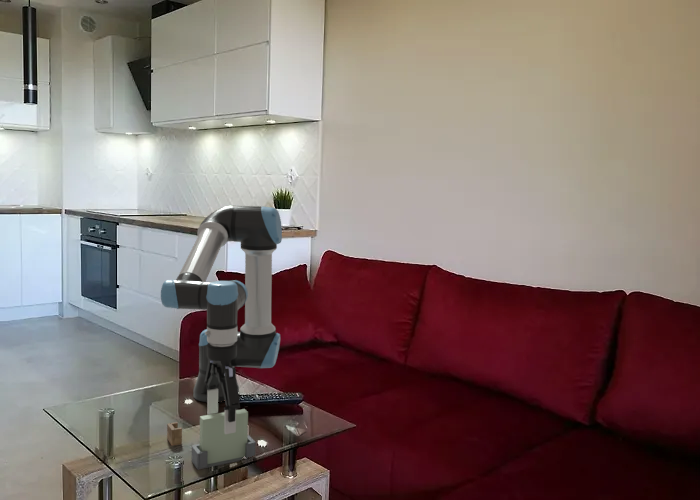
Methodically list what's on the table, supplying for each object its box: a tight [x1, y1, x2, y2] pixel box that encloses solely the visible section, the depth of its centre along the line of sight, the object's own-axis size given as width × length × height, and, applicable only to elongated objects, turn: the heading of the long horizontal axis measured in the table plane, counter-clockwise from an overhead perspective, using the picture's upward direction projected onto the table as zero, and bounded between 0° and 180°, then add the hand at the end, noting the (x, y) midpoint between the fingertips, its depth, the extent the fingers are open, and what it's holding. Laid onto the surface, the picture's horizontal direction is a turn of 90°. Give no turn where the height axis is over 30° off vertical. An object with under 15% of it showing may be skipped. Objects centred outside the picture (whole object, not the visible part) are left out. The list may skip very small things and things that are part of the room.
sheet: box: [199, 408, 249, 464], centre depth 157 cm, size 12×2×12 cm, turn 121°
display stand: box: [191, 434, 256, 470], centre depth 158 cm, size 15×5×5 cm, turn 121°
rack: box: [166, 421, 183, 447], centre depth 170 cm, size 16×5×5 cm, turn 121°
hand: (221, 422), depth 157 cm, fingers open, 13 cm apart
